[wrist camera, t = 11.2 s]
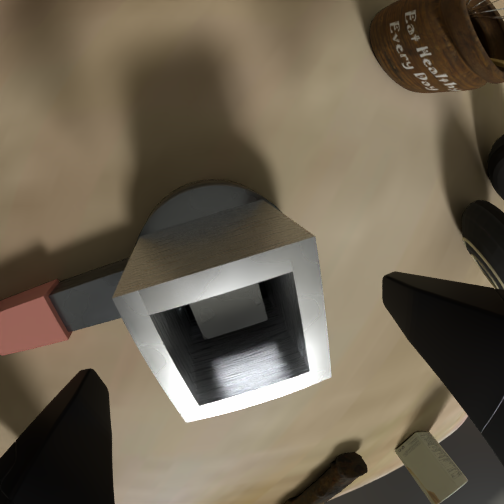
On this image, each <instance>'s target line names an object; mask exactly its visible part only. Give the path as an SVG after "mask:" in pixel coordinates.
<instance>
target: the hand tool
mask: <svg viewBox="0 0 504 504" xmlns="http://www.w3.org/2000/svg"><path fill="white" fill-rule="evenodd" d="M330 466H331V468H330V469H329V470H328V471H327V472H326V473H325V474H324V475H323V476H321V477H320V478H319V479H318V480H317V481H316V482H315V483H313V484H312V485H311V486H310V487H309V488H308V489H306V490H305V491H304V492H303V493H302V494H301V495H300V496H299V497H296V498H292V499H289V500H287V501H286V502H285V503H284V504H324V503H326V502H327V501H328V500H329V499H331V498H332V497H333V496H335V495H336V494H338V493H339V492H341V491H342V490H343V489H344V488H345V487H347V486H348V485H349V484H351V483H352V482H353V481H354V480H355V479H356V478H358V477H359V476H361V475H363V474H365V473H367V471H368V470H367V465H366V464H365V462H364V460H363V459H362V457H361V456H360V455H358V454H357V453H355V452H352V453H345V454H341V455H339V456H338V457H337V458H336V462H333V463H331V464H330Z"/></svg>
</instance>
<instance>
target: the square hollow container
mask: <svg viewBox="0 0 504 504" xmlns="http://www.w3.org/2000/svg"><path fill="white" fill-rule="evenodd" d="M261 281H264V283H265V287H266V291H267V295H268V297H266V298H263V303H264V307H265V311H266V315H267V319H268V320H266V321H263V322H260V323H257V324H254V325H251V326H248V327H245V328H242V329H239V330H236V331H232V332H229V333H226V334H223V335H219V336H216V337H213V338H209V339H206V340H204V338H203V335H202V333H201V331H200V328H199V326H198V324H197V321H196V319H194V320H190V317H189V315H188V313H187V310H186V308H185V305H187V304H190V303H193V302H197V301H200V300H203V299H207V298H210V297H213V296H217V295H220V294H223V293H226V292H230V291H233V290H236V289H239V288H242V287H246V286H249V285H252V284H255V283H258V282H261ZM112 299H113V301H114V303H115V305H116V308H117V310H118V311H119V313H120V315H121V317H122V319H123V321H124V323H125V325H126V327H127V329H128V331H129V332H130V334H131V336H132V338H133V340H134V342H135V343H136V345H137V347H138V349H139V350H140V352H141V354H142V355H143V357H144V359H145V361H146V362H147V364H148V366H149V367H150V369H151V370H152V372H153V374H154V375H155V377H156V378H157V380H158V382H159V383H160V385H161V386H162V388H163V389H164V391H165V392H166V394H167V395H168V397H169V398H170V400H171V401H172V403H173V404H174V406H175V407H176V409H177V410H178V411H179V413H180V414H181V416H182V417H183V418H184V420H185V421H186V422H191V421H195V420H200V419H204V418H208V417H213V416H217V415H220V414H224V413H228V412H232V411H235V410H239V409H242V408H246V407H249V406H252V405H256V404H259V403H262V402H265V401H268V400H271V399H274V398H277V397H280V396H283V395H286V394H289V393H292V392H294V391H297V390H300V389H303V388H305V387H308V386H310V385H313V384H315V383H318V382H320V381H323V380H325V379H328V378H330V377H331V364H330V353H329V342H328V332H327V322H326V313H325V304H324V296H323V288H322V280H321V273H320V265H319V258H318V252H317V245H316V238H315V236H314V235H313V234H311V233H310V232H308V231H307V230H306V229H304V228H303V227H301V226H300V225H299V224H297V223H296V222H294V221H293V220H291V219H290V218H289V217H287V216H286V215H284V214H283V213H281V212H280V211H278V210H277V209H276V208H274V207H273V206H271V205H270V204H268V203H267V202H265V201H264V200H258V201H255V202H251V203H248V204H244V205H241V206H237V207H234V208H230V209H227V210H223V211H220V212H216V213H213V214H210V215H206V216H203V217H200V218H196V219H193V220H190V221H187V222H183V223H180V224H177V225H174V226H171V227H167V228H164V229H161V230H158V231H155V232H152V233H149V234H146V235H143V236H140V238H139V240H138V242H137V244H136V246H135V248H134V250H133V252H132V255H131V257H130V259H129V261H128V263H127V265H126V267H125V270H124V272H123V274H122V276H121V279H120V281H119V283H118V285H117V288H116V290H115V292H114V295H113V297H112Z"/></svg>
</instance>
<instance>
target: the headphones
mask: <svg viewBox="0 0 504 504" xmlns="http://www.w3.org/2000/svg"><path fill="white" fill-rule="evenodd" d="M488 174H489V177H490V181H491V183H492V186H493V187H494V189H495V191H496V192H497V193H498V194H499V195H500V197H501V198H502V199H503V200H504V135H502V136H501V137H500V138H499V139H497V141H496V142H495V143H494V145H493V146H492V149H491V151H490V154H489V160H488ZM462 232H463V238H462V240H463V242H464V244H465V245H466V248H467V250H468V251H469V253H470V254H471V256H472V258H473V260H474V261H475V262H476V264H477V265H478V267H479V268H480V269H481V271H482V272H483V274H484V275H485V276H486V278H487V279H488V280H489V281H490V283H491V284H492V285H493V286H494V288H495V289H502V290H504V213H503V212H502V211H501V210H500V209H499V208H497V207H496V206H494V205H493V204H491V203H490V202H487V201H484V200H476V201H475V202H474V203H471V204H470V205H469V206H468V207H467V209H466V210H465V211H464V213H463V215H462Z"/></svg>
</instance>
